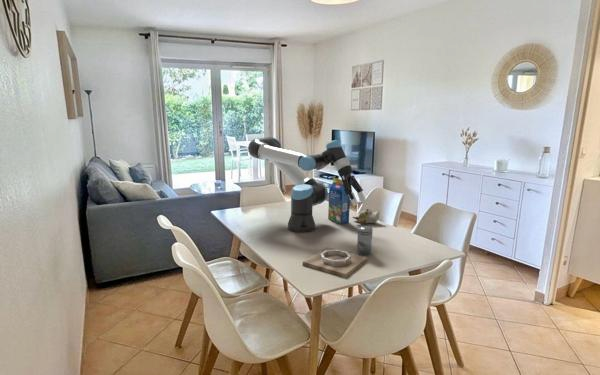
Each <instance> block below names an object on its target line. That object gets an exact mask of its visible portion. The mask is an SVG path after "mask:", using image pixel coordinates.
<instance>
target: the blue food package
mask: <svg viewBox="0 0 600 375" xmlns="http://www.w3.org/2000/svg"><path fill="white" fill-rule="evenodd" d="M332 178H333V179H332V180H333V182H332V183H331V185H330V186H329V188H328V213H327V214H328V215H327V216H328V217H327V219H328V220H330V221H333V222H335V223H336V224H341V225H343V224H349V222H350V209H351V208H350V203H351V200H350V197H349V195H346V193H345V189H344V185H343V182H342V179H341V178H336V177H332Z"/></svg>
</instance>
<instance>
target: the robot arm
mask: <svg viewBox="0 0 600 375" xmlns="http://www.w3.org/2000/svg"><path fill="white" fill-rule="evenodd" d="M247 147H248V148H247V150H248V153H249V155H250V156H251V157H253V158H254V159H257V160H266V161H267V162H268V163H272V164H274V165H275V166H276V168H278V170H280V171H281V172H282V173H283V175H285V176H286V177H287V179H289V180H290V182H292V183H293V184H294V186H292V188H291V192H290V193H291V194H290V217H289V220H288V221H287V222H288V223H287V230H289V231H291V232H295V233H311V232H312V231H315V230H316V223H315V219H314V216H313V207H315V206H317V205H321V204H322V203H324V202H325V201H326V200H327V199H328V197H329V189H328V188H327V186H326V184H324V183H322V182H317V181H316V180H315V179H314V178H312V177H309V176H308V175H307V174H306V173H304V172H305V171H306V172H307V171H309V172H310V171H313V170H316V171H320V170H322V169H324V168H325V167H327V166H328V165H330V164H332V163H333V165H334V167H335V169H336V170H337V174H338V175H339V177H340V179H341V180H342V182H343V185H344V189H345V193H346V195H349V197H350V203H351V204H352V206H353V207H356V206H357V205H359V202H358V200H357V197H358V198H359V200H360V204H361V205H364V204H367V203H368V201H367V199H366V197H365V195H364V193H363V191H364V189H363V188H362V186H361V185H360V184H359V182H358V180H357V178H356V177H355V175H354V174H352V173H353V172H354V170H353V168H352V166H351V165H350V162H349V158H348V157H347V155H346V153H345V151H344V149H343V146H342V144H341V142H340V141H339V140H337V139H334V140H331V141H330V142H328V143H327V144H326V146H325V147H326V150H324V151H322V152H319V153H316V154H312V155H310V154H305V153H301V152H296V151H293V150H288V149H284V148H283V147H282V144H281V141H280V140H279V139H278V138H275V137H272V136H268V137H259V138H254V139H253V140H251V141H250V142H249V144H248V146H247ZM353 189H354V191H356V194H357V197H356V196H355V193H354V191H353Z"/></svg>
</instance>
